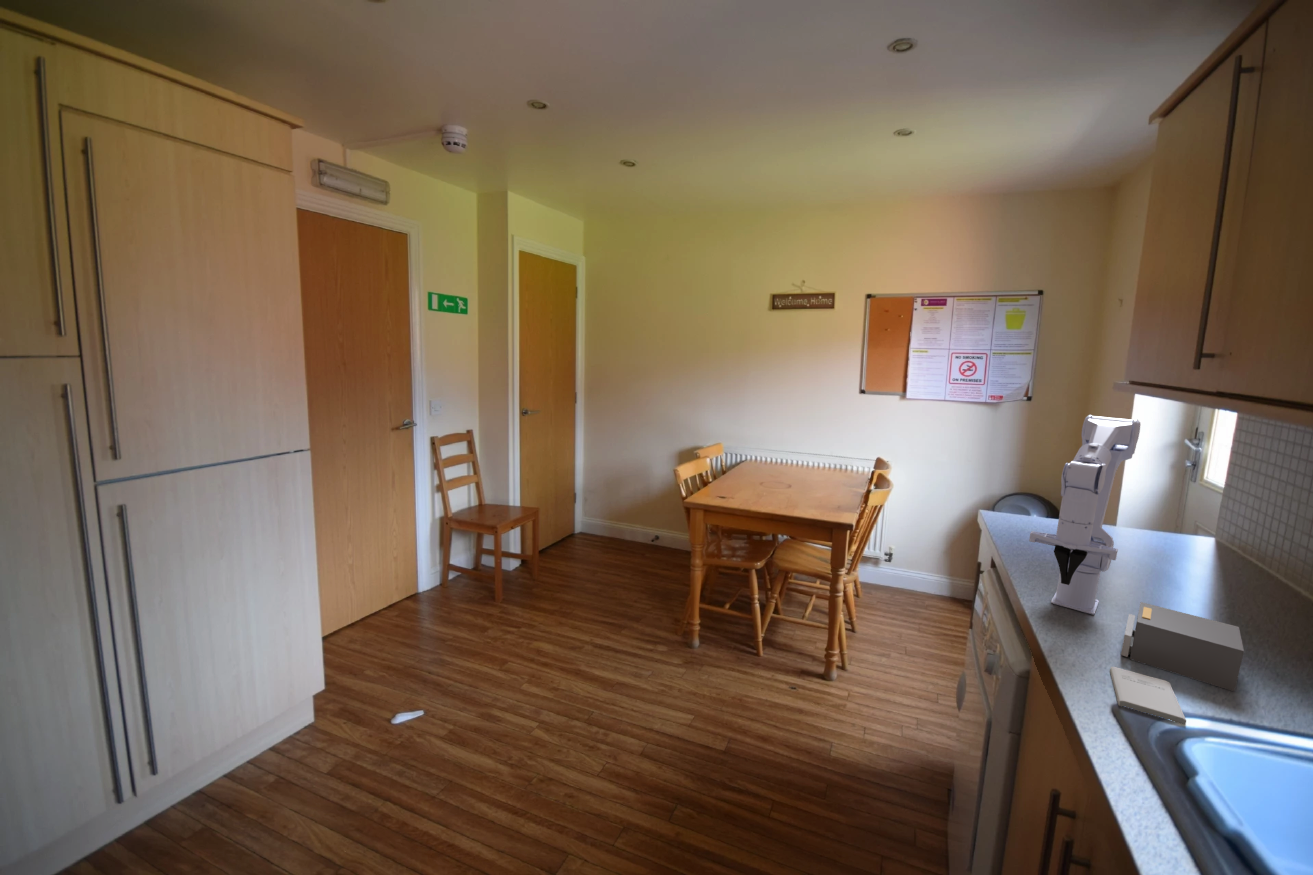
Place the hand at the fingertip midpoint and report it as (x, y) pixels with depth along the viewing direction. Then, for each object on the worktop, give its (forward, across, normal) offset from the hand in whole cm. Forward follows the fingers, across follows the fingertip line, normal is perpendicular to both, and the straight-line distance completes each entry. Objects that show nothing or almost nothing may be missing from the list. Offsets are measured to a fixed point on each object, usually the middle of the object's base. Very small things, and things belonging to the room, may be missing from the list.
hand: (1065, 582), depth 118 cm
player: (+9, +19, 0) cm, 21 cm away
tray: (+9, +17, -1) cm, 20 cm away
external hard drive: (+10, +15, -20) cm, 27 cm away
